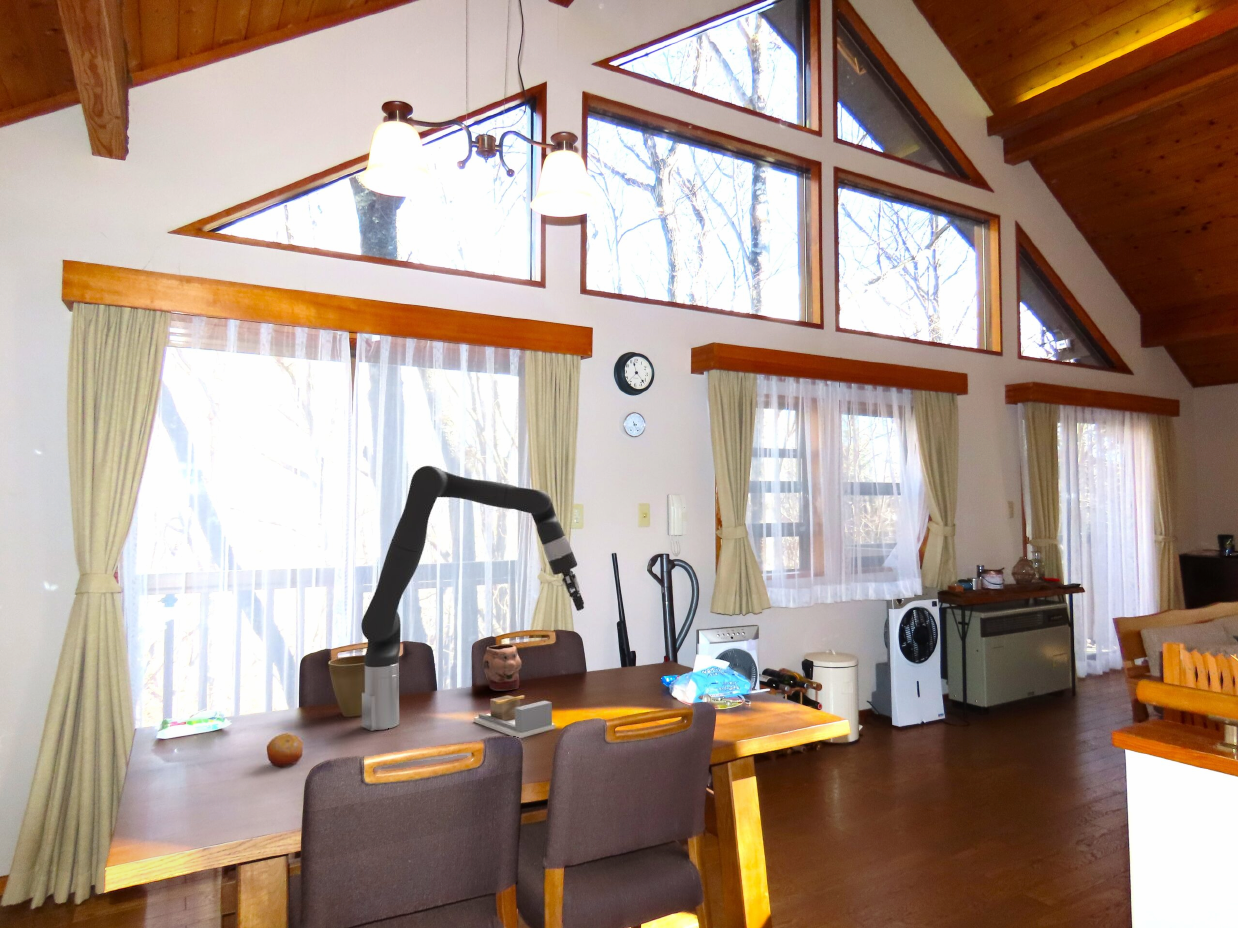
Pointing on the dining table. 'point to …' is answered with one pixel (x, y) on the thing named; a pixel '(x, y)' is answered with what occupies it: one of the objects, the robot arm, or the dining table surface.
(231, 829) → the dining table surface
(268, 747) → the fruit
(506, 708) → the block
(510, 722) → the base
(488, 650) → the decorative planter
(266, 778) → the dining table surface
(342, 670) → the plant pot
